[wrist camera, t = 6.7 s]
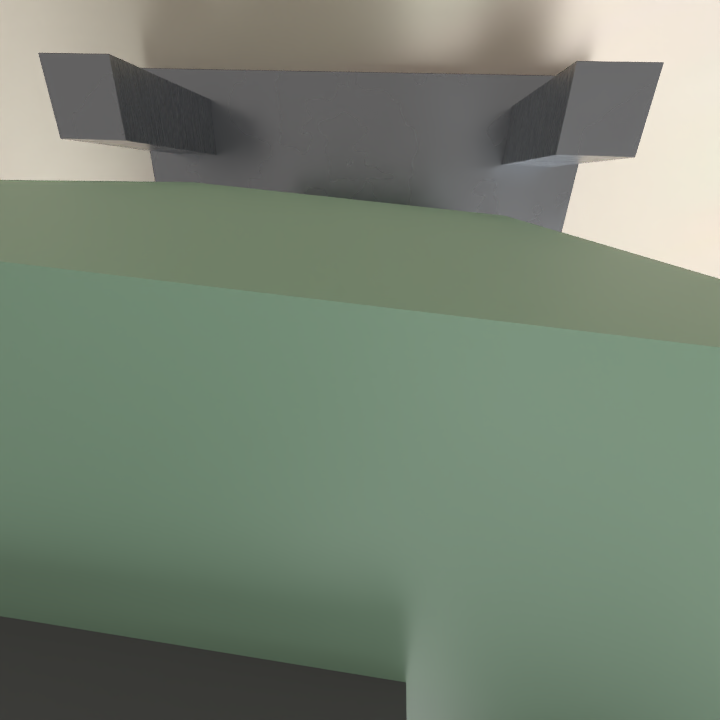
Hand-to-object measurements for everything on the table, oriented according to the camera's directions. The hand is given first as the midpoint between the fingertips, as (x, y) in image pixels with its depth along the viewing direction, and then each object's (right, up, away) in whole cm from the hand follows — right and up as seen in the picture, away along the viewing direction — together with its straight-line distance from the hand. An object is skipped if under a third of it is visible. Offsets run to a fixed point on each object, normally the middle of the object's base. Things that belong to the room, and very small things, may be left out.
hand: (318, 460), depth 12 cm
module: (0, +1, +2) cm, 2 cm away
